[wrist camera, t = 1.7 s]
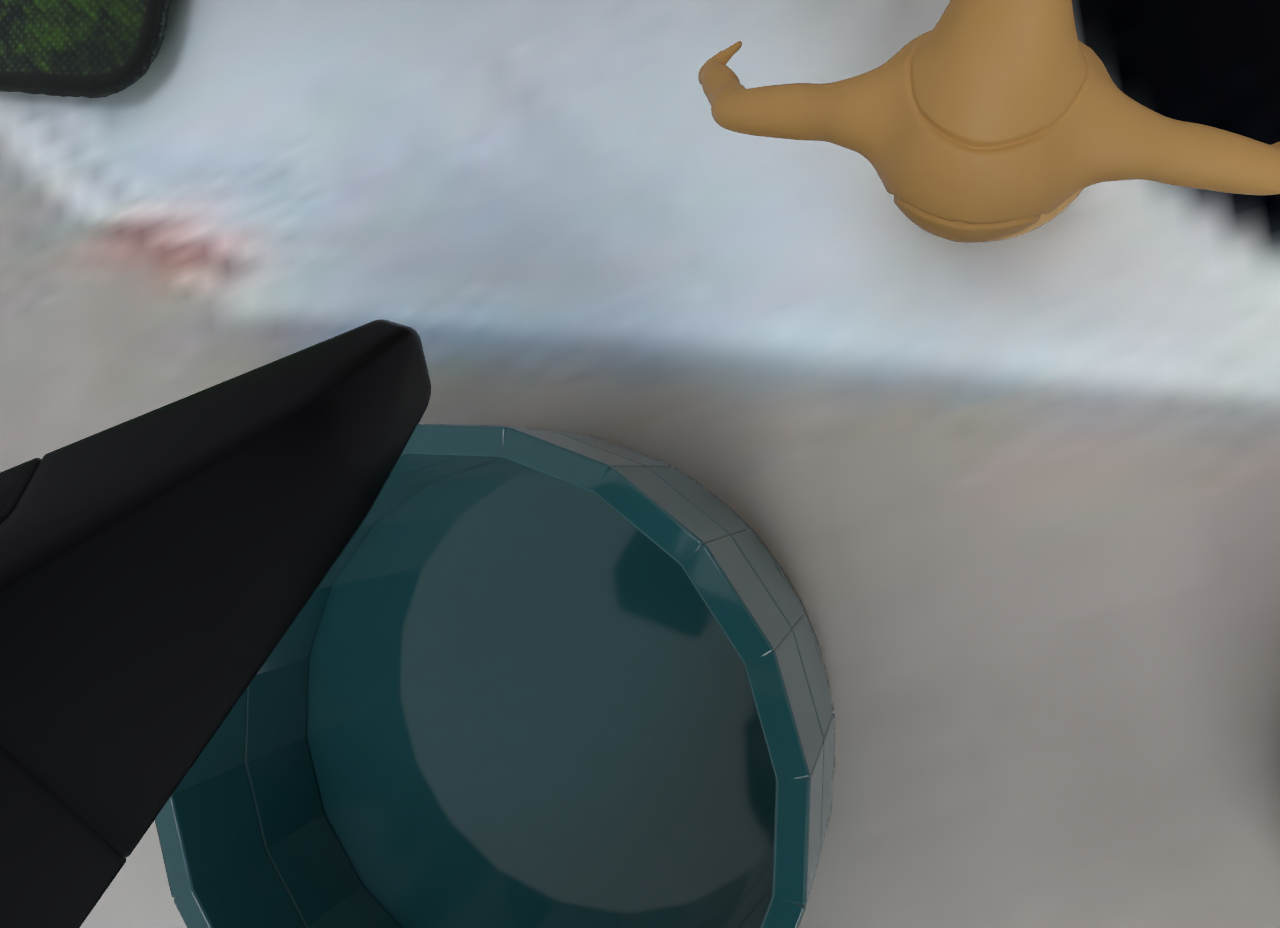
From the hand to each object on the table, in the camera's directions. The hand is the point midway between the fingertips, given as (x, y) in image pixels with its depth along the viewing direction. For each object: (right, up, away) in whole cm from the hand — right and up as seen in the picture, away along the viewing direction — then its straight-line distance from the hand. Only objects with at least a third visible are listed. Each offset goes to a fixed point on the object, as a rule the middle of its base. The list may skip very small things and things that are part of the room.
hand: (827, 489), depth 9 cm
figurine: (+5, +6, +11) cm, 14 cm away
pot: (-4, -6, +14) cm, 16 cm away
